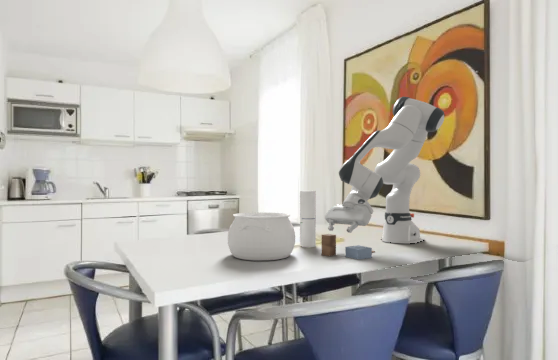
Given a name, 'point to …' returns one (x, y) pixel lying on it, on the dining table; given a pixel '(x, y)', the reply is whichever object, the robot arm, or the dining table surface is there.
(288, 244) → the pot
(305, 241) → the cylindrical container
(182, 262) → the dining table surface
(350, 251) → the slate block
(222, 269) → the dining table surface
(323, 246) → the walnut block
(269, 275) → the dining table surface
